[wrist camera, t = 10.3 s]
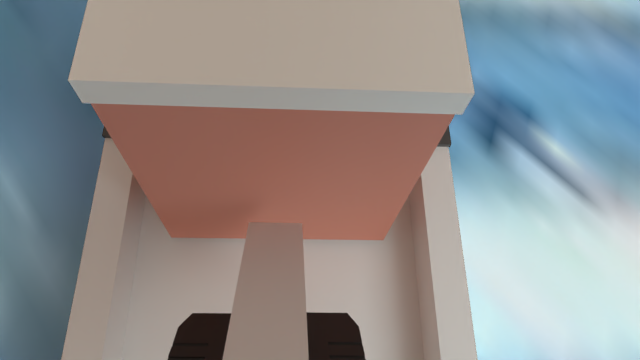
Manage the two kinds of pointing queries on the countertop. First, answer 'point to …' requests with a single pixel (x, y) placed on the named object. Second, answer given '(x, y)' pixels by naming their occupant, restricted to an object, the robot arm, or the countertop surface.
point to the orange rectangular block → (274, 106)
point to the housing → (224, 265)
